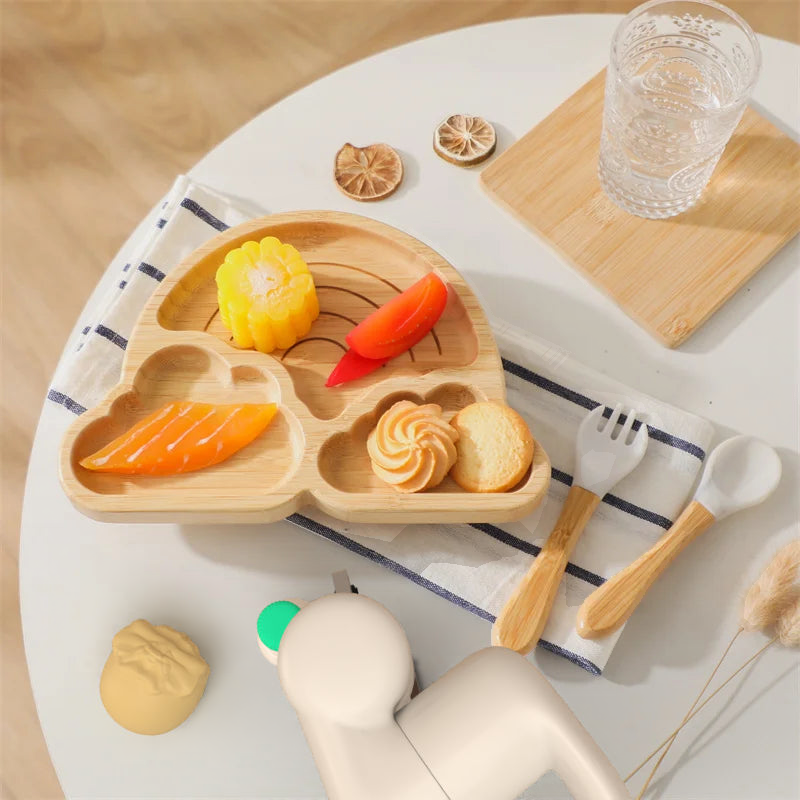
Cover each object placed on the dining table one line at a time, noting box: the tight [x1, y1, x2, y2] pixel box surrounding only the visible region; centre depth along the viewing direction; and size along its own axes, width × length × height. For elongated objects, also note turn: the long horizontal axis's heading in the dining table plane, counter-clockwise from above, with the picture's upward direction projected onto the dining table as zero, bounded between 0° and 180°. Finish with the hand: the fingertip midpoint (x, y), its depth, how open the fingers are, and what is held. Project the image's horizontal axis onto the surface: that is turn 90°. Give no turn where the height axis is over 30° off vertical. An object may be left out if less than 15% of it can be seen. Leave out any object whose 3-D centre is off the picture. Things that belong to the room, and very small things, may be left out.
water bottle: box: [256, 597, 310, 667], centre depth 98 cm, size 7×7×25 cm
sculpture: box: [99, 618, 212, 737], centre depth 103 cm, size 12×12×11 cm
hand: (373, 685), depth 77 cm, fingers open, 9 cm apart
